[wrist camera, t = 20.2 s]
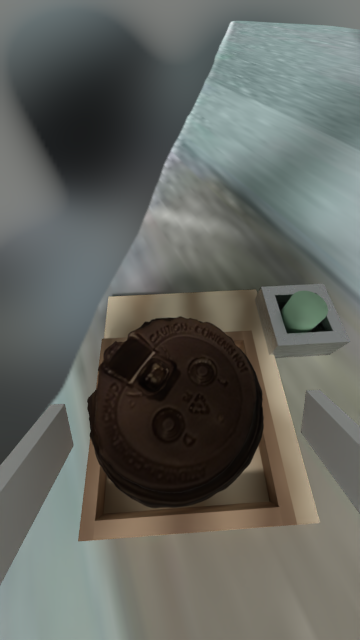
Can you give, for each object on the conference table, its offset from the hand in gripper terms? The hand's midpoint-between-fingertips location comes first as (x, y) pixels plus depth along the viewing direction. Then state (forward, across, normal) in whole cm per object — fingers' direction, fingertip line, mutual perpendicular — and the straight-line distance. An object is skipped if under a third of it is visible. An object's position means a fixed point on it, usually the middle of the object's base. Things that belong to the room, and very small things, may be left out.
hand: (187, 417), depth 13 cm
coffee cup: (+7, +1, +6) cm, 9 cm away
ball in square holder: (+14, -13, 0) cm, 19 cm away
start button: (+13, -13, -1) cm, 18 cm away
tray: (+10, -1, +4) cm, 11 cm away
